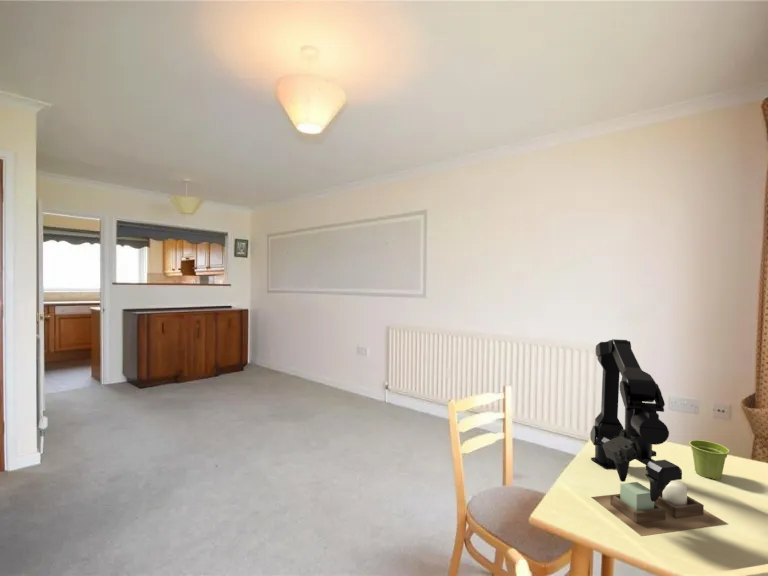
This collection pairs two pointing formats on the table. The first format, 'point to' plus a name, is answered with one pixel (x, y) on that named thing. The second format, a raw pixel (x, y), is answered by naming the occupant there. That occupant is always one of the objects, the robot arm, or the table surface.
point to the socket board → (660, 515)
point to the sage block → (636, 496)
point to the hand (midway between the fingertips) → (637, 490)
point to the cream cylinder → (675, 493)
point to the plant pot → (708, 458)
